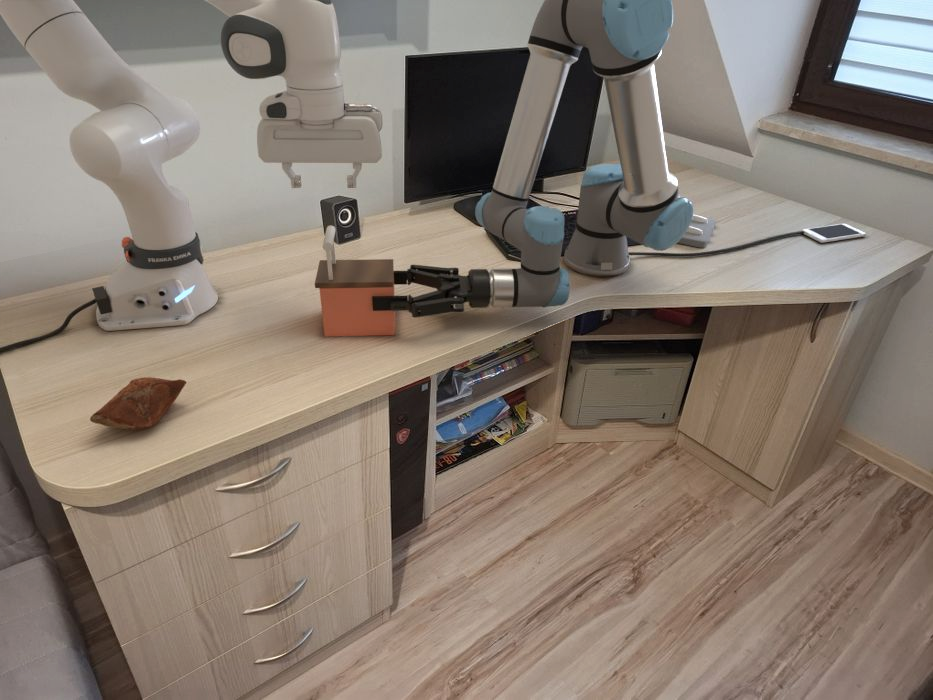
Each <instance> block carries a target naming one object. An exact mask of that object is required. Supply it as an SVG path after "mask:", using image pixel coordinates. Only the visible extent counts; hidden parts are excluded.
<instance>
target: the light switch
mask: <svg viewBox="0 0 933 700" xmlns="http://www.w3.org/2000/svg"><path fill="white" fill-rule="evenodd" d="M715 225H716V219H715V218H712V217H707V216H702V215H697V214H693V217H692V221H691V223H690V226H689V228H688V229H687V231H686V233H685V234H684V235H683V237H682V238H681V239H680V240H679V241H678V242H677V243H676V244H679V245H680V244H681V245H685V246H691V247H695V248H699V249H700V248H702V249H704V248H706V247H707V246H708V243H709V240H710V238H711V237H712V233H713V230H714V229H715Z"/></svg>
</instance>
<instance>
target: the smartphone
mask: <svg viewBox="0 0 933 700" xmlns="http://www.w3.org/2000/svg"><path fill="white" fill-rule="evenodd" d="M801 231H804V233H803V235H805V236H807V237H808V238H811V239H813V240H815V241H816V242H819V243H820V244H821V243H823V244H824V243H829V242H835V241H842V240H849V239H855V238H861V237H865V236H866V232H864V231H863V230H860V229H858V228H856V227H853V226H851V225H849V224H847V223H837V224H831V225H824V226H823V225H822V226H818V227H817V226H816V227H810V228H803V229H801Z"/></svg>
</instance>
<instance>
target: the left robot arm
mask: <svg viewBox="0 0 933 700" xmlns="http://www.w3.org/2000/svg"><path fill="white" fill-rule="evenodd" d="M203 1H204V2H206V3H208V4H210V5H211V6H213V7H214V8H216V9H218V10H219V11H220V12H222V13H223V14H224V15H226V16H227V17H228V18H227V19H226V20H225V22H224V23H223V25H222V28H221V32H220V47H221V50H222V54H223V56H224V58H225V60H226V62H227V64H228V65H229V66H230V67H231V69H232V70H233V71H234V72H235V73H237V74H238V75H239V76H241V77H243V78H246V79H249V80H265V79H268V78H272V77H282V78H283V79H284V80H285V86H286V90H285V91H284V90H283V91H280V92H277V93H275V94H271V95H268V96H266V97H265V98H264V99H263V100H262V101H261V103H260V104H259V109H258V110H259V116H260V117H261V119H260V121H259V123H258V125H257V130H256V146H257V154H258V158H259V159H260V160H261V161H262V162H263V163H267V164H269V163H270V164H272V163H273V164H274V163H275V164H276V163H277V164H281V167H282V168H281V169H282V170H283V172H284V173H285V174H286V176H287V177H288V178H289V180H290V186H291V189H301V188H302V181H301V180H302V178H301V177H302V176H301V174H296V173H295V172H294V171H293V169H292V166H293V164H352V169H353V172H352V174H348V175H346V183H347V185H346V186H347V189H356V188H357V178H358V176H359V174H360V172H361V170H362V167H363V165H362V164H377V163H379V162H380V160H381V159H382V157H383V149H382V142H381V141H382V140H381V135H380V131H381V130H382V129H383V125H384V124H383V114H382V112H381V110H380V109H379V108H378V107H376V106H373V104H370V103H364V104H360V103H359V104H358V103H345V93H344V92H345V91H344V81H343V77H342V75H341V71H340V62H341V56H342V51H341V49H342V48H341V39H340V32H339V30H340V29H339V24H338V19H337V14H336V13H337V12H336V9H335V6H334V3H333V2H332V0H203ZM0 17H1V18H2V20H3V21H4V23H5V24H6V26H7V27H8V28H9V30H10V32H11V33H12V34H13V35H14V37H15V38H16V40H17V41H18V42H19V43H20V45H22V47H23V48H24V49H25V50H26V52H27V53H28V54H29V56H31V58H32V59H33V60H34V62H35V63H36V64H37V65H38V66H39V67H40V68H41V70H42V71H43V72H44V73H45V75H46V76H47V77H48V78H49V79H50V81H51V82H52V83H53V84H54V85H55V86H56V88H57V89H58V90H59V91H60V92H62V93H63V94H65V96H66V95H67V96H68V97H70V98H73V99H75V100H80V101H83V102H85V103H87V104H89V105H91V106H93V107H95V108H96V109H97V110H99V111H98V112H95V113H93V114H92V115H89V116H88V117H86V118H85V119H84V120H81V122H80V123H78V124H77V125H75V126H74V127H73V128H72V130H71V132H70V134H69V148H70V152H71V156H72V157H73V159H74V161H75V162H76V164H77V165H78V167H79V168H80V169H81V170H82V171H83V172H84V173H85V174H87V175H88V176H89V177H91V178H93V179H95V180H97V181H99V182H102V183H103V184H105V185H106V186H107V187H108V188H109V189H110V190H111V191H112V192H113V194H114V195H115V196H116V198H117V199H118V201H119V203H120V205H121V207H122V209H123V212H124V215H125V219H126V221H127V224H128V227H129V231H130V234H131V237H129V236H125V237H123V238H122V240H121V247H122V248H123V253H124V257H125V260H126V261H125V262H123V264H122V265H121V266H119V267H118V268H117V269H116V270H115V271H114V272H113V273H111V274H110V275H109V277H108V278H107V280H106V282H105V286H104V285H102V286H96V287H92V288H91V291H92V293H93V297H94V298H93V299H91V300H90V301H87V302H86V303H84V304H82V305H80V306H78V307H76V308H75V309H73V310H72V311H71V312H70V313H69V314H68V315H67V316H66V318H65V320H64V322H63V324H62V325H60V326H59V327H57V329H55V330H53V331H51V332H49V333H46V334H44V335H41V336H38V337H33V338H28V339H25V340H20V341H18V342H14V343H11V344H7V345H5V346H1V347H0V353H3V352H5V351H8V350H11V349H15V348H19V347H23V346H27V345H29V344H34V343H38V342H41V341H43V340H46V339H50V338H52V337H54V336H56V335H58V334H60V333H62V332H63V331H65V329H66V328H67V327H68V326H69V324H70V322H71V320H72V319H73V318H74V317H75V316H76V315H78V314H79V313H80V312H82V311H84V310H85V309H87V308H89V307H92V306H93V305H95V304H96V305H97V307H96V309H95V317H96V322H97V324H98V326H99V327H100V328H101V329H102V330H103V331H106V332H111V331H112V332H113V331H125V330H137V329H139V330H140V329H151V328H164V327H174V326H184V325H188V324H190V323H191V322H192V321H194V319H195V318H197V317H198V316H200V315H202V314H204V313H206V312H208V311H209V310H211V309H212V308H213V307H214V306H215V305H216V304H217V303H218V300H219V295H218V292H217V291H216V290H215V288H214V286H213V284H212V282H211V280H210V278H209V274H208V272H207V270H206V267H205V264H204V258H205V257H204V256H205V255H204V251H203V246H202V241H201V239H200V237H199V234H198V232H197V231H196V230H195V229H196V228H195V225H194V224H195V223H194V219H193V216H192V211H191V207H190V201H189V199H188V196H187V195H186V194H185V193H184V192H183V191H182V190H180V189H179V188H177V187H175V186H173V185H169V183H168V181H167V180H166V177H165V175H164V173H163V168H162V167H163V164H164V163H166V162H168V161H171V160H173V159H175V158H177V157H180V156H182V155H183V154H184V153H186V152H187V151H188V150H190V148H191V147H192V146H193V145H194V144H195V143H196V142H197V141H198V139H199V137H200V133H201V125H200V121H199V120H200V119H199V117H198V115H197V113H196V112H195V110H194V108H193V107H192V106H191V104H190V103H188V101H186V100H185V99H183V98H182V97H180V96H178V95H174V94H172V93H170V92H169V93H168V92H166V91H165V90H163V89H161V88H159V87H158V86H157V85H155V84H153V83H152V82H151V81H149V80H148V79H146V78H145V77H144V76H143V75H141V74H140V73H138V72H137V71H136V70H135V69H134V68H132V67H131V66H130V65H129V63H127V62H126V61H125V60H123V58H121V56H119V54H118V53H117V52H116V51H115V50H114V49H113V48H112V46H111V45H110V44H109V43H108V42H107V40H106V39H105V38H104V36H102V34H101V33H100V32H99V30H98V29H97V28H96V27H95V25H93V23H92V22H91V21H90V19H89V18H88V17H87V15H86V14H85V13H84V11H83V10H82V9H81V8H80V6H79V5H78V4H77V3H76V2H75V1H74V0H0Z"/></svg>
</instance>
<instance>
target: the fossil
mask: <svg viewBox="0 0 933 700" xmlns="http://www.w3.org/2000/svg"><path fill="white" fill-rule="evenodd" d="M187 382H188V381H186V380H185V379H179V378H178V379H174V380H173V379H164V378H158V377H150V376H147V377H145V376H144V377H139V378H134V379H131V380H130V381H129V383H128V384H127V385H126V386H124V387H123V388H122V389H120V390H119V391H118V392H117V393H116V394H115V395H114V396H113V397H112V398H111V399H110V400H108V401H107V403H105V404H104V405H103V406H102V407H101V408H99V409H98V410H97V411H95V412H94V413H93V414H92V415H91V416H90V418H89V421H90V422H92V423H94V424H97V425H101V426H104V427H110V428H115V429H124V430H130V431H131V430H145V429H148V428H150V427H152V426H154V425H156V424H157V423H158V422H159V421H160V420H161V418H162V417H163V416H164V415H165V414H166V413H167V412H168V410H169V409H170V408H171V407H172V405H173V404H174V402H175V401H176V400H177V398H178V397H179V395H180V393H181V392H182V391H183V389H184V387H185V386H186V384H187Z"/></svg>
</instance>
